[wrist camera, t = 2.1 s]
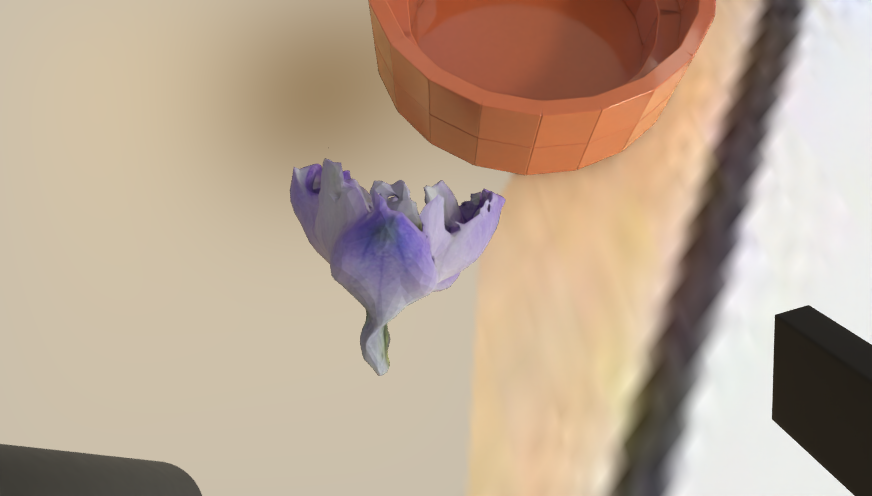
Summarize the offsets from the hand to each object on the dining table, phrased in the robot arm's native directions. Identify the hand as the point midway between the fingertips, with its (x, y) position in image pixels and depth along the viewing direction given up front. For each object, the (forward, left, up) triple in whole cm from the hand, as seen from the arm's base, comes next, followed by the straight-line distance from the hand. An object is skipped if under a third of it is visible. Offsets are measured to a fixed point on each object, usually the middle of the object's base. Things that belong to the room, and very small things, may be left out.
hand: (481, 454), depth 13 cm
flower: (-2, +9, -16) cm, 18 cm away
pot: (+6, +22, -16) cm, 28 cm away
